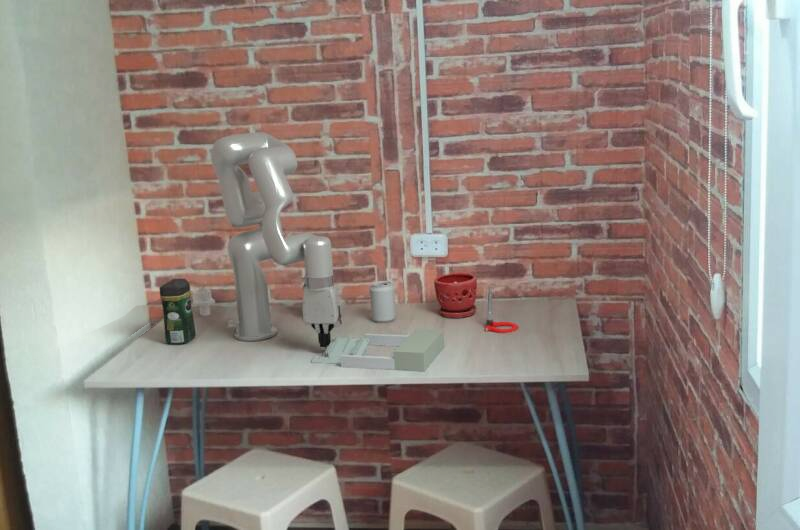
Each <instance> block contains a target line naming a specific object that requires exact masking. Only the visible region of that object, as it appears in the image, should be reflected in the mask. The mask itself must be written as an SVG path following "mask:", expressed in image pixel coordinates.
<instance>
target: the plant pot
mask: <svg viewBox="0 0 800 530" xmlns="http://www.w3.org/2000/svg"><path fill="white" fill-rule="evenodd" d="M433 284H434V291H435V297H436V300H437V303H438V304H439V306H440V308H439V313H440V314H441V316H444V317H446V318H452V319H460V318H465V317H469V316H472V315H474V314H475V313H476V312H477V310H478V308H477V305H476V304H475V303H476V299H477V291H478V290H477V288H478V281H477V275H474V274H473V273H469V272H454V273H447V274H442V275H439V276H437V277H435V278H434V281H433Z"/></svg>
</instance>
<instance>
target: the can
mask: <svg viewBox="0 0 800 530" xmlns="http://www.w3.org/2000/svg"><path fill="white" fill-rule="evenodd" d="M369 293H370V294H369V295H370V310H371V311H370V312H371V314H370V315H371V319H372V321H373V322H375V323H377V322H378V323H377V324H385V323H387V322H388V323H391V322H393V321H394V320H395V319H396V317H397V314H396V313H397V311H396V294H395V286H394V285H393V282H392V281H390V280H378V281H374V282H372V283H371V287H370V288H369ZM388 323H387V324H388Z"/></svg>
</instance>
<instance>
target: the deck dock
mask: <svg viewBox="0 0 800 530" xmlns="http://www.w3.org/2000/svg"><path fill="white" fill-rule="evenodd" d="M444 332H445V330H444V329H434V328H433V329H430V328H429V329H427V328H426V329H425V328H415V329H414V330H413V331H412V332H411V333H410V334H409V335H406V334H385V333H365V334H364V339H370V341H369V343H368V345H367V346H379V345H383V347H384V345H385V347H386V346H387V347H396V349H395V350H394V351H393V356H378V355H377V356H376V355H375V356H374V355H373V356H371V355H362V356H358V355H341V356H340V357H341V366H340V368H353V369H354V368H355V369H370V368H371V370H372V368H374V370H375V369H376V370H388V369H392V370H393V371H408V372H410V371H411V372H426V370H427V369H428V368H429V367H430V365H431V364H432V363H433V362H434V360H435V359H436V358H437V357H438V356H439V355H440V353H442V351H443V349H445V333H444ZM437 355H438V356H437ZM436 356H437V357H436Z"/></svg>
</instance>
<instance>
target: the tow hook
mask: <svg viewBox="0 0 800 530" xmlns="http://www.w3.org/2000/svg"><path fill="white" fill-rule="evenodd" d="M492 290H493V289H492V285H489V286H488V293H487V312H486V318H487V319H486V322H485V323H486V324H485V327H484V331H485V332H489V331H491V332H493V333H494V332H495V333H501V334H508V333H507V332H511V333H513V332H512V331H515V330H517V329H518V330H519V325H518V324H516V323H515V322H514V323H513V322H510V321H494V319H493V317H494V316H493V313H494V312H493V292H492ZM507 325H508V326H507ZM500 326H507V327H510V326H512V327H511V328H498V327H500ZM518 330H517V331H518ZM515 332H516V331H515Z"/></svg>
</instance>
